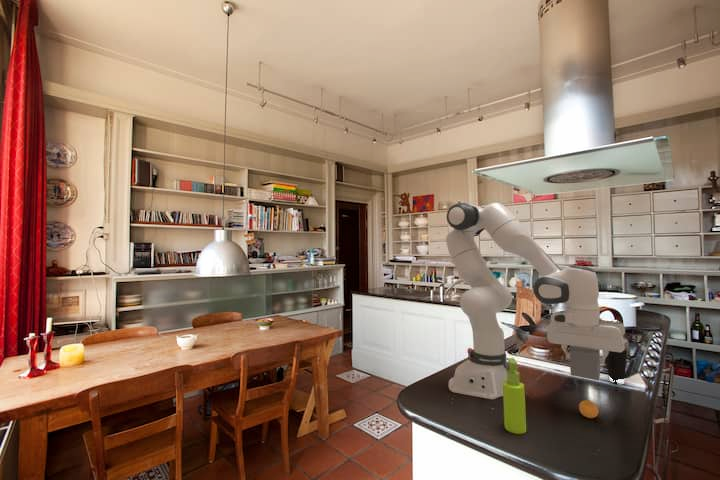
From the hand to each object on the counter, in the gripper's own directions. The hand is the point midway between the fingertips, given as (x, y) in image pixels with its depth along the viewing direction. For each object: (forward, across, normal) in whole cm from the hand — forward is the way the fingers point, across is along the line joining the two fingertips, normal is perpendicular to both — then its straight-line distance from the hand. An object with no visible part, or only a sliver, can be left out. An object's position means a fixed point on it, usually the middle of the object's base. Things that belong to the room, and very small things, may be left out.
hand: (584, 361), depth 107 cm
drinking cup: (+17, -6, -36) cm, 40 cm away
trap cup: (+4, 0, -1) cm, 4 cm away
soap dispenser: (+17, +16, +20) cm, 31 cm away
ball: (+15, 0, 0) cm, 15 cm away
